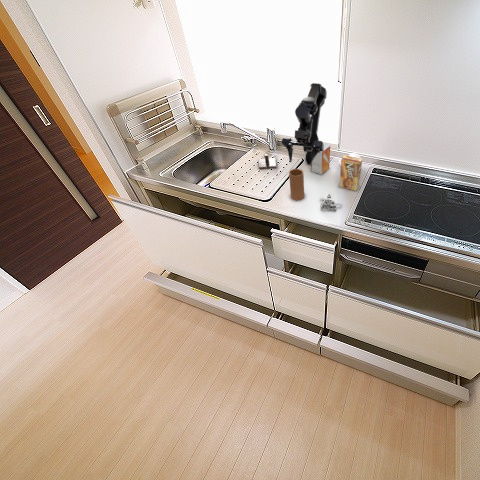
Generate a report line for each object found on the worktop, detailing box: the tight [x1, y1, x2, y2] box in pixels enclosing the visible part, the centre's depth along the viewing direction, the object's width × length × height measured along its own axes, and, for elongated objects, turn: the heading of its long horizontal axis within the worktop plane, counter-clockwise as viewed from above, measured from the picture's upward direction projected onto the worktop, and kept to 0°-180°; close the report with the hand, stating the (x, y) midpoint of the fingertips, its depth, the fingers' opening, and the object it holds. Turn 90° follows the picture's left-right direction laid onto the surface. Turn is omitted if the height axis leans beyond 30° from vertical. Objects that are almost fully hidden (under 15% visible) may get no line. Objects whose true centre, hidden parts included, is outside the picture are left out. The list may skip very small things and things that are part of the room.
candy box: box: [339, 155, 363, 192], centre depth 123 cm, size 9×4×15 cm, turn 68°
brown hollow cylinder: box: [288, 168, 305, 202], centre depth 118 cm, size 6×6×13 cm
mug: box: [338, 152, 362, 168], centre depth 136 cm, size 12×9×8 cm
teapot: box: [319, 193, 341, 212], centre depth 115 cm, size 9×9×8 cm
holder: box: [258, 153, 277, 170], centre depth 141 cm, size 9×9×6 cm
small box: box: [311, 142, 331, 176], centre depth 135 cm, size 8×6×13 cm
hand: (300, 163), depth 118 cm, fingers open, 9 cm apart
